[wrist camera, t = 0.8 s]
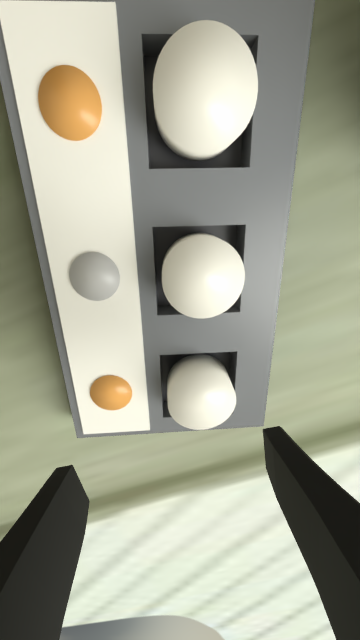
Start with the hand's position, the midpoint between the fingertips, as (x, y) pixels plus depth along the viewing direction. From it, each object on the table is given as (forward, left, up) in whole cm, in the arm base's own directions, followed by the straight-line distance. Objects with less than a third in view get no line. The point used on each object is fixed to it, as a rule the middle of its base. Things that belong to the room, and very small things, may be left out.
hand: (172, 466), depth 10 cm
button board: (0, -5, -10) cm, 12 cm away
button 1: (-2, -14, -9) cm, 16 cm away
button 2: (-2, -6, -9) cm, 11 cm away
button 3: (-2, +3, -9) cm, 9 cm away
